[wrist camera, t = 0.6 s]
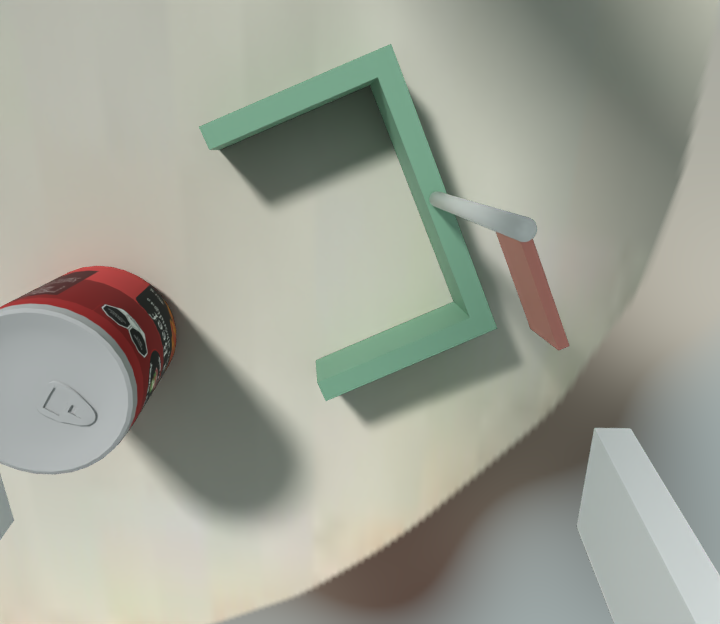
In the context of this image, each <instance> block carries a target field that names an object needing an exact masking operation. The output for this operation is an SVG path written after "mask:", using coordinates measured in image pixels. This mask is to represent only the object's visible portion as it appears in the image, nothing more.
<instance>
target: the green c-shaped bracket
mask: <svg viewBox="0 0 720 624" xmlns="http://www.w3.org/2000/svg"><path fill="white" fill-rule="evenodd" d="M369 85H370V87H371V90H372V92H373V95H374V97H375V100H376V103H377V105H378V108H379V110H380V113H381V116H382V118H383V121H384V123H385V126H386V128H387V131H388V134H389V136H390V139H391V141H392V144H393V146H394V149H395V152H396V154H397V157H398V159H399V162H400V165H401V167H402V170H403V172H404V175H405V177H406V180H407V183H408V185H409V188H410V190H411V193H412V195H413V198H414V201H415V203H416V206H417V208H418V211H419V214H420V216H421V219H422V221H423V224H424V226H425V229H426V232H427V234H428V237H429V239H430V242H431V244H432V247H433V250H434V252H435V255H436V257H437V260H438V263H439V265H440V268H441V270H442V273H443V275H444V278H445V281H446V283H447V286H448V288H449V291H450V294H451V296H452V299H453V301H454V302H452V303H450V304H447V305H445V306H442V307H440V308H438V309H435V310H433V311H431V312H428V313H426V314H424V315H421V316H419V317H417V318H414V319H412V320H410V321H407V322H405V323H403V324H400V325H398V326H395V327H393V328H391V329H388V330H386V331H384V332H381V333H379V334H377V335H374V336H372V337H370V338H367V339H365V340H363V341H360V342H358V343H356V344H353V345H351V346H348V347H346V348H344V349H341V350H339V351H337V352H334V353H332V354H330V355H327V356H325V357H323V358H320V359H318V360H316V371H317V383H318V385H319V387H320V389H321V392H322V394H323V396H324V398H325V400H326V401H327V400H330V399H332V398H334V397H337V396H339V395H341V394H344V393H346V392H349V391H351V390H353V389H356V388H358V387H360V386H363V385H365V384H367V383H370V382H372V381H374V380H377V379H379V378H382V377H384V376H386V375H389V374H391V373H393V372H396V371H398V370H400V369H403V368H405V367H407V366H410V365H412V364H415V363H417V362H419V361H422V360H424V359H426V358H429V357H431V356H433V355H436V354H438V353H440V352H443V351H445V350H448V349H450V348H452V347H455V346H457V345H459V344H462V343H464V342H466V341H469V340H471V339H473V338H476V337H478V336H480V335H483V334H485V333H488V332H490V331H492V330H495V329H497V327H496V324H495V321H494V319H493V316H492V313H491V311H490V308H489V305H488V303H487V300H486V297H485V294H484V292H483V289H482V286H481V284H480V281H479V278H478V276H477V273H476V270H475V268H474V265H473V262H472V260H471V257H470V254H469V252H468V249H467V246H466V244H465V241H464V238H463V236H462V233H461V230H460V227H459V225H458V222H457V219H456V217H455V215H457V216H459V217H461V218H464V219H466V220H469V221H471V222H474V223H476V224H479V225H481V226H483V227H486V228H488V229H491V230H493V231H496V234H497V237H498V239H499V242H500V245H501V248H502V251H503V253H504V256H505V259H506V262H507V265H508V267H509V270H510V273H511V276H512V278H513V281H514V284H515V287H516V290H517V292H518V295H519V298H520V301H521V304H522V306H523V309H524V312H525V315H526V318H527V320H528V323H529V326H530V329H531V330H533V331H534V332H535V333H537V334H538V335H539V336H540V337H542V338H543V339H544V340H546V341H547V342H548V343H550V344H551V345H552V346H553V347H555V348H556V349H557V350H561V349H563V348H566V347H568V346H569V343H568V340H567V337H566V334H565V331H564V329H563V326H562V323H561V320H560V317H559V314H558V311H557V308H556V305H555V302H554V299H553V297H552V294H551V291H550V288H549V285H548V282H547V279H546V276H545V273H544V270H543V267H542V265H541V262H540V259H539V256H538V253H537V250H536V247H535V244H534V241H533V238H534V236H535V235H536V232H537V226H536V223H535V221H534V220H533V219H531V218H529V217H525V216H522V215H518V214H515V213H511V212H508V211H504V210H501V209H498V208H494V207H491V206H487V205H484V204H480V203H477V202H473V201H470V200H466V199H463V198H459V197H456V196H453V195H449V194H447V193H446V190H445V187H444V185H443V182H442V179H441V177H440V174H439V171H438V169H437V166H436V163H435V160H434V158H433V155H432V152H431V150H430V147H429V144H428V142H427V139H426V136H425V134H424V131H423V128H422V126H421V123H420V120H419V118H418V115H417V112H416V110H415V107H414V104H413V102H412V99H411V96H410V93H409V91H408V88H407V85H406V83H405V80H404V77H403V75H402V72H401V69H400V67H399V64H398V61H397V59H396V56H395V53H394V51H393V48H392V45H391V44H390V45H387V46H385V47H383V48H380V49H378V50H376V51H373V52H371V53H369V54H366V55H364V56H362V57H360V58H357V59H355V60H353V61H350V62H348V63H346V64H343V65H341V66H339V67H336V68H334V69H332V70H329V71H327V72H325V73H322V74H320V75H318V76H316V77H313V78H311V79H309V80H306V81H304V82H302V83H299V84H297V85H295V86H292V87H290V88H288V89H285V90H283V91H281V92H278V93H276V94H274V95H271V96H269V97H267V98H265V99H262V100H260V101H258V102H255V103H253V104H251V105H248V106H246V107H244V108H241V109H239V110H237V111H234V112H232V113H230V114H227V115H225V116H223V117H221V118H218V119H216V120H214V121H211V122H209V123H207V124H204V125H202V126H200V127H199V128H200V130H201V132H202V135H203V137H204V139H205V141H206V143H207V145H208V148H209V150H220V149H223V148H225V147H227V146H230V145H232V144H234V143H236V142H239V141H241V140H243V139H246V138H248V137H250V136H253V135H255V134H257V133H260V132H262V131H264V130H267V129H269V128H271V127H274V126H276V125H278V124H281V123H283V122H285V121H288V120H290V119H292V118H294V117H297V116H299V115H301V114H304V113H306V112H308V111H311V110H313V109H315V108H318V107H320V106H322V105H325V104H327V103H329V102H332V101H334V100H336V99H339V98H341V97H343V96H346V95H348V94H350V93H352V92H355V91H357V90H359V89H362V88H364V87H366V86H369Z"/></svg>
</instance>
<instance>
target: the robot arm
mask: <svg viewBox="0 0 720 624" xmlns="http://www.w3.org/2000/svg"><path fill="white" fill-rule="evenodd" d="M13 521H14V519H13V515H12V512H11V508H10V505H9V502H8V498H7V495H6V492H5V488H4V485H3V482H2V478H1V475H0V540H1V538H2V537H3V535H4V534H5V532H6V531H7V530H8V528H9V527H10V525H11V524H12V522H13ZM576 527H577V530H578V532H579V535H580V537H581V540H582V543H583V545H584V548H585V550H586V553H587V555H588V558H589V561H590V563H591V566H592V568H593V571H594V574H595V576H596V579H597V581H598V584H599V586H600V589H601V591H602V594H603V597H604V599H605V602H606V604H607V607H608V610H609V612H610V615H611V617H612V620H613V623H614V624H720V575H719V574H718V572H717V570H716V569H715V567H714V565H713V564H712V562H711V560H710V559H709V557H708V555H707V554H706V552H705V551H704V549H703V547H702V545H701V544H700V542H699V541H698V539H697V537H696V536H695V534H694V532H693V531H692V529H691V527H690V526H689V524H688V522H687V521H686V519H685V517H684V516H683V514H682V512H681V511H680V509H679V507H678V506H677V504H676V503H675V501H674V499H673V498H672V496H671V495H670V493H669V491H668V489H667V488H666V486H665V484H664V483H663V481H662V479H661V478H660V476H659V474H658V473H657V471H656V469H655V468H654V466H653V465H652V463H651V461H650V460H649V458H648V456H647V455H646V453H645V451H644V450H643V448H642V446H641V445H640V443H639V441H638V440H637V438H636V437H635V435H634V433H633V432H632V430H631V428H594V433H593V438H592V444H591V449H590V455H589V460H588V466H587V471H586V477H585V483H584V488H583V493H582V499H581V504H580V510H579V515H578V521H577V526H576Z"/></svg>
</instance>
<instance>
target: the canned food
mask: <svg viewBox="0 0 720 624" xmlns="http://www.w3.org/2000/svg"><path fill="white" fill-rule="evenodd" d="M175 346H176V327H175V323H174V319H173V316H172V313H171V311H170V309H169V307H168V305H167V303H166V302H165V300H164V299H163V298H162V296H161V295H160V293H159V292H158V291H157V290H156V289H155V288H153V287H152V286H151V285H150V284H149V283H147V282H146V281H145V280H143V279H142V278H140V277H138V276H136V275H134V274H132V273H129V272H127V271H125V270H121V269H117V268H113V267H105V266H92V267H84V268H80V269H77V270H74V271H71V272H69V273H67V274H65V275H63V276H61V277H59V278H57V279H55V280H53V281H51V282H49V283H47V284H45V285H43V286H41V287H39V288H37V289H35V290H33V291H31V292H29V293H27V294H25V295H23V296H21V297H19V298H17V299H15V300H13V301H11V302H9V303H7V304H5V305H3V306H2V307H0V463H1V464H4V465H6V466H9V467H12V468H14V469H17V470H21V471H26V472H31V473H36V474H61V473H68V472H73V471H77V470H80V469H83V468H86V467H88V466H90V465H92V464H94V463H96V462H97V461H99V460H101V459H103V458H104V457H105V456H106V455H107V454H108V453H110V452H111V451H112V450H113V449H114V448H115V447H116V446H117V445H118V444H119V443H120V442H121V440H122V439H123V438H124V436H125V435H126V434H127V432H128V431H129V429H130V428H131V426H132V425H133V423H134V422H135V421H136V419H137V417H138V416H139V414H140V412H141V411H142V409H143V407H144V406H145V404H146V402H147V401H148V399H149V397H150V396H151V394H152V392H153V391H154V389H155V387H156V386H157V384H158V382H159V381H160V379H161V377H162V376H163V374H164V372H165V371H166V369H167V367H168V366H169V364H170V361H171V359H172V357H173V355H174V351H175Z"/></svg>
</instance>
